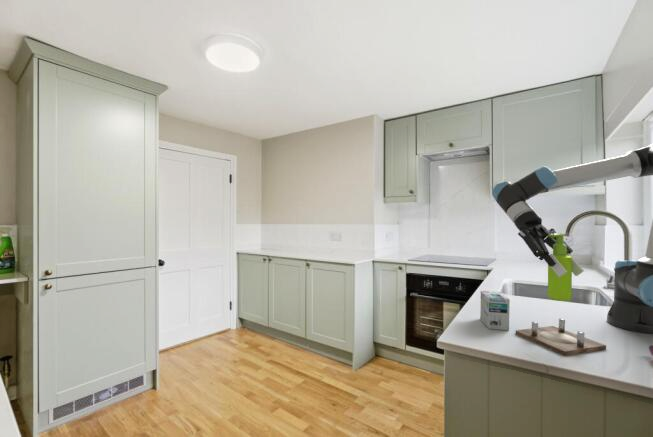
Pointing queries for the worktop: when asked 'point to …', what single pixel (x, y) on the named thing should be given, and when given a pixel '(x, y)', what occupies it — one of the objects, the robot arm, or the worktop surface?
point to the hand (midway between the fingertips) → (571, 273)
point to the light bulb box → (494, 310)
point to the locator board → (560, 339)
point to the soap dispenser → (561, 285)
